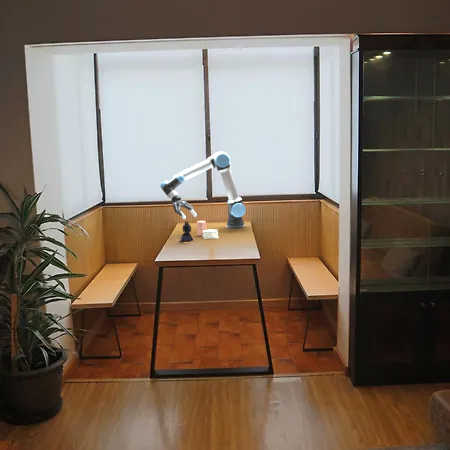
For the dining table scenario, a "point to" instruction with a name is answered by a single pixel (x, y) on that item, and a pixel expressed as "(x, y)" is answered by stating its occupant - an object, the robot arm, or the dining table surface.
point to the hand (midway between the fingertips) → (190, 217)
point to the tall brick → (201, 227)
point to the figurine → (186, 232)
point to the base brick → (210, 233)
